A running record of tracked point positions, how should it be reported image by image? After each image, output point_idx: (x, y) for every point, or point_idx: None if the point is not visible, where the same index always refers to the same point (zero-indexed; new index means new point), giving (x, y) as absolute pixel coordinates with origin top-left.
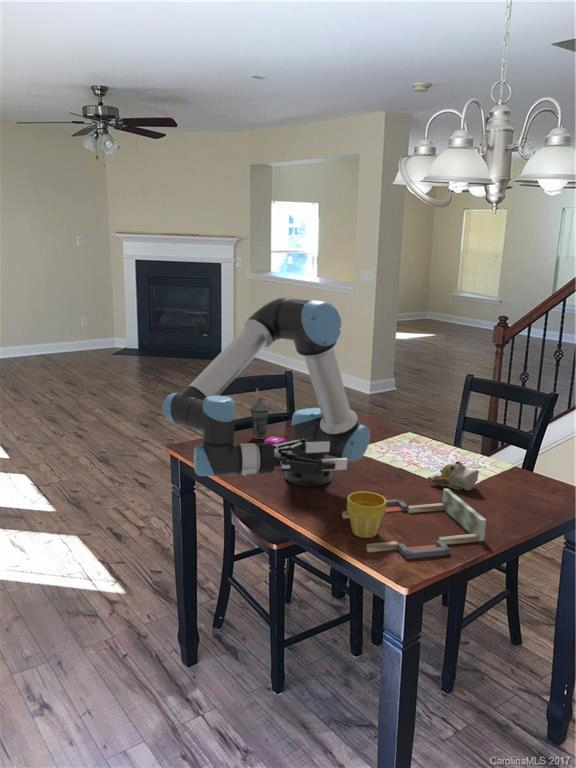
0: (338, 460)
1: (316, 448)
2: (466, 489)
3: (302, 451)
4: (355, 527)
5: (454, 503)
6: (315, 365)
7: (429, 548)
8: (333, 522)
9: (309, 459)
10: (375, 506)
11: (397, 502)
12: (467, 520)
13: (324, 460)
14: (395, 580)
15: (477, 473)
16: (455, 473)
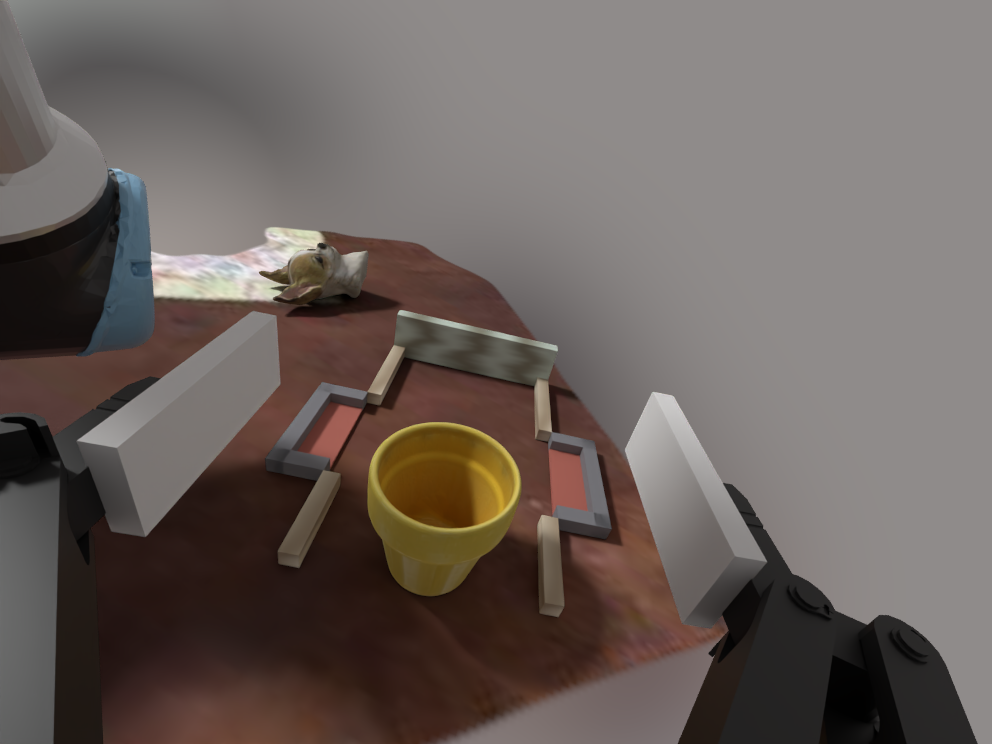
0: (694, 444)
1: (215, 422)
2: (357, 295)
3: (94, 561)
4: (450, 581)
5: (449, 337)
6: None
7: (588, 471)
8: (301, 622)
9: (772, 709)
10: (519, 478)
11: (330, 396)
12: (503, 360)
13: (751, 541)
14: (719, 627)
15: (367, 258)
16: (333, 270)
